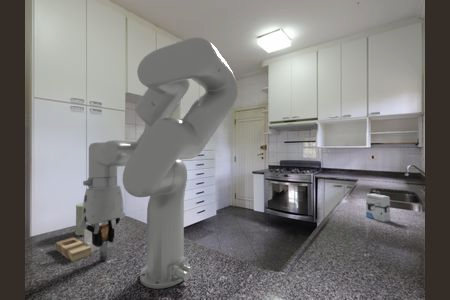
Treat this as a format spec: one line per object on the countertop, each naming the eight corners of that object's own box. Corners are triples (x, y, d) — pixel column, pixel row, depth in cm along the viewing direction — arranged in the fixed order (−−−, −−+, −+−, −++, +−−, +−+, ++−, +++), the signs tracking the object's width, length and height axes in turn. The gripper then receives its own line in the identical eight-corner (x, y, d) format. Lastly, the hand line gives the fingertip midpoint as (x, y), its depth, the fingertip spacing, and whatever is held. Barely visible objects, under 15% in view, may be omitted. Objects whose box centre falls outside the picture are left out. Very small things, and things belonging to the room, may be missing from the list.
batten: (91, 254, 63) (91, 247, 63) (72, 261, 59) (72, 253, 59) (73, 243, 71) (73, 237, 71) (55, 249, 67) (55, 242, 67)
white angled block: (68, 247, 63) (84, 220, 67) (98, 252, 70) (111, 227, 74) (72, 251, 61) (89, 222, 64) (102, 255, 68) (116, 229, 71)
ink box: (365, 216, 102) (365, 193, 102) (372, 215, 103) (372, 193, 104) (383, 222, 94) (382, 197, 94) (390, 221, 95) (390, 196, 95)
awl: (111, 257, 61) (111, 224, 61) (100, 262, 58) (100, 227, 58) (106, 255, 62) (106, 223, 63) (95, 259, 60) (95, 226, 60)
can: (99, 233, 81) (99, 203, 81) (71, 237, 77) (72, 206, 77) (103, 226, 89) (104, 199, 89) (79, 228, 86) (79, 201, 86)
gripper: (77, 187, 52) (77, 258, 51) (135, 180, 66) (135, 236, 65) (66, 185, 56) (65, 251, 56) (122, 179, 70) (123, 232, 69)
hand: (103, 242), depth 60 cm, fingers closed on awl, 3 cm apart
